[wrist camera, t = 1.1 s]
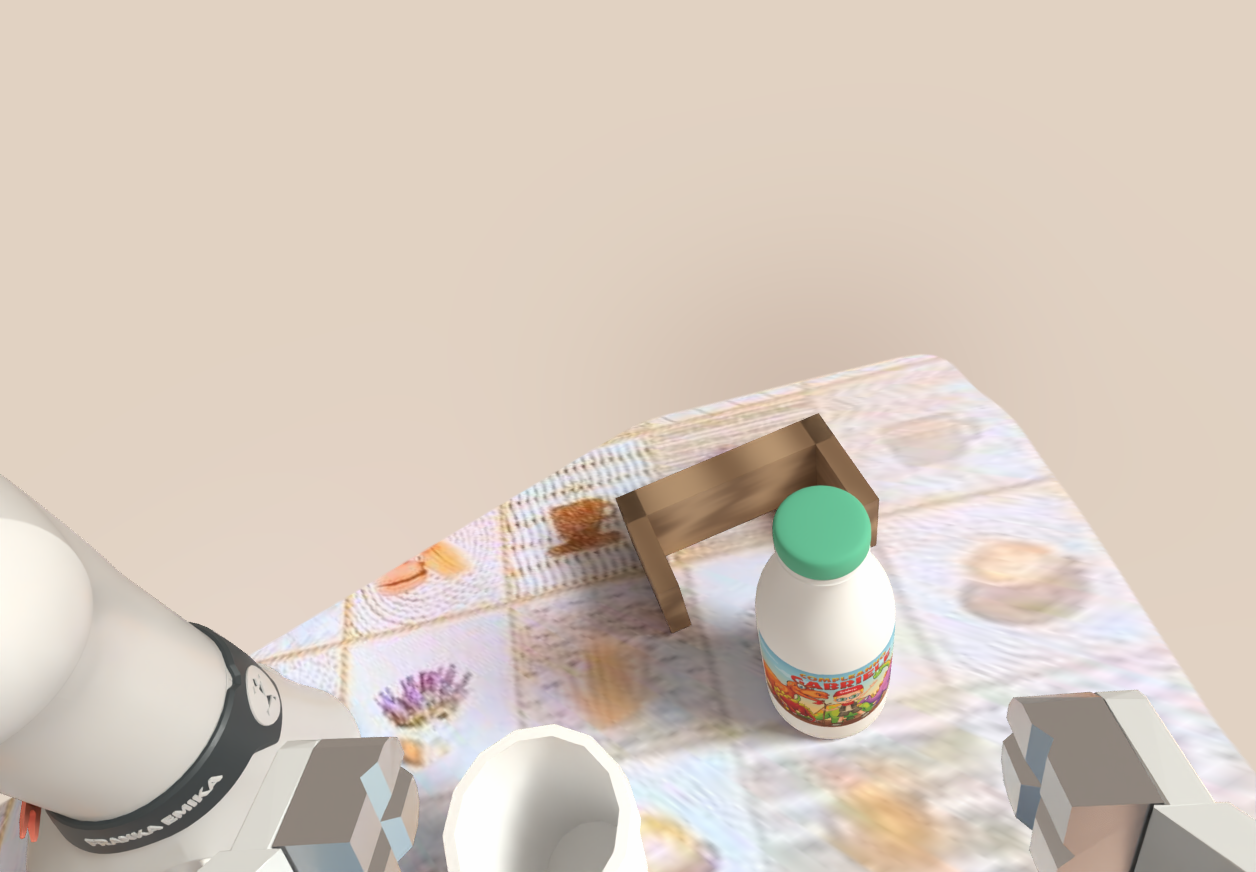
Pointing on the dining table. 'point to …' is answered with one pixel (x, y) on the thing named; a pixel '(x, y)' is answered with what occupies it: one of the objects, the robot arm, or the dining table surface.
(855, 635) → the milk bottle
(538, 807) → the foam cup
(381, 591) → the dining table surface
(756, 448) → the walnut dock
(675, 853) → the dining table surface
